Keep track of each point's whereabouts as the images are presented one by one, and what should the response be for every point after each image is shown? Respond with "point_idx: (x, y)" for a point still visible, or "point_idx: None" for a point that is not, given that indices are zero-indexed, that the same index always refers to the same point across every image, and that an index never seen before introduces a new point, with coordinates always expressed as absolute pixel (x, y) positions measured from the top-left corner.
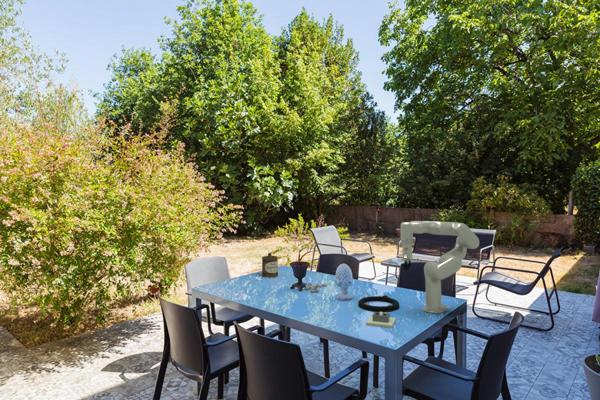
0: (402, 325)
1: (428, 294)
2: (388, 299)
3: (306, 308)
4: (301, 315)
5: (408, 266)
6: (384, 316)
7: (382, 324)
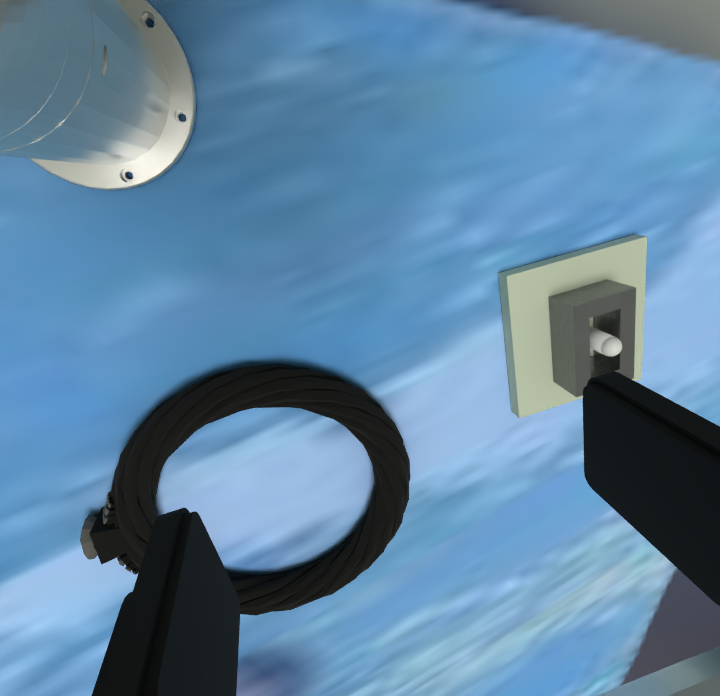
0: (570, 199)
1: (125, 90)
2: (149, 493)
3: (510, 679)
4: (601, 633)
5: (697, 424)
6: (633, 309)
7: (644, 293)
